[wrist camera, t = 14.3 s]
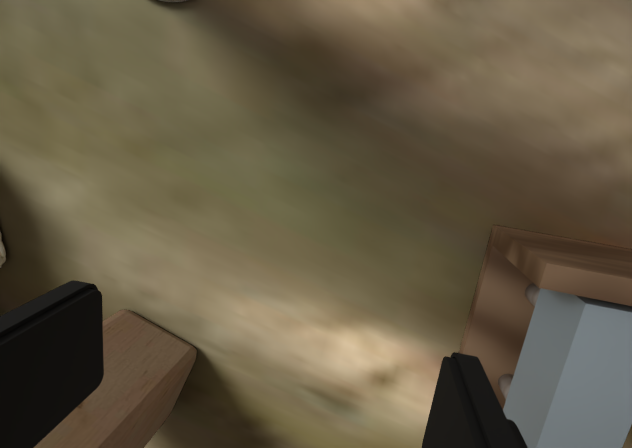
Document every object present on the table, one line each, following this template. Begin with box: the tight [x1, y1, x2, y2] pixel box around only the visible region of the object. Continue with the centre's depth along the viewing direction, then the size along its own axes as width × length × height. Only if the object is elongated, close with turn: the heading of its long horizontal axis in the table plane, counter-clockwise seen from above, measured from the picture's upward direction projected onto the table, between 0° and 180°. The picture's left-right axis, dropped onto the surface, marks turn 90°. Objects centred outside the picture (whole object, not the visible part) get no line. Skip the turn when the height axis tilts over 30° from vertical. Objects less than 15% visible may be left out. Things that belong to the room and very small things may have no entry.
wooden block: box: [34, 310, 197, 448], centre depth 33 cm, size 10×10×20 cm
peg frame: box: [459, 225, 632, 410], centre depth 29 cm, size 19×12×11 cm, turn 171°
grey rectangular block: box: [503, 288, 632, 448], centre depth 28 cm, size 14×5×6 cm, turn 171°
